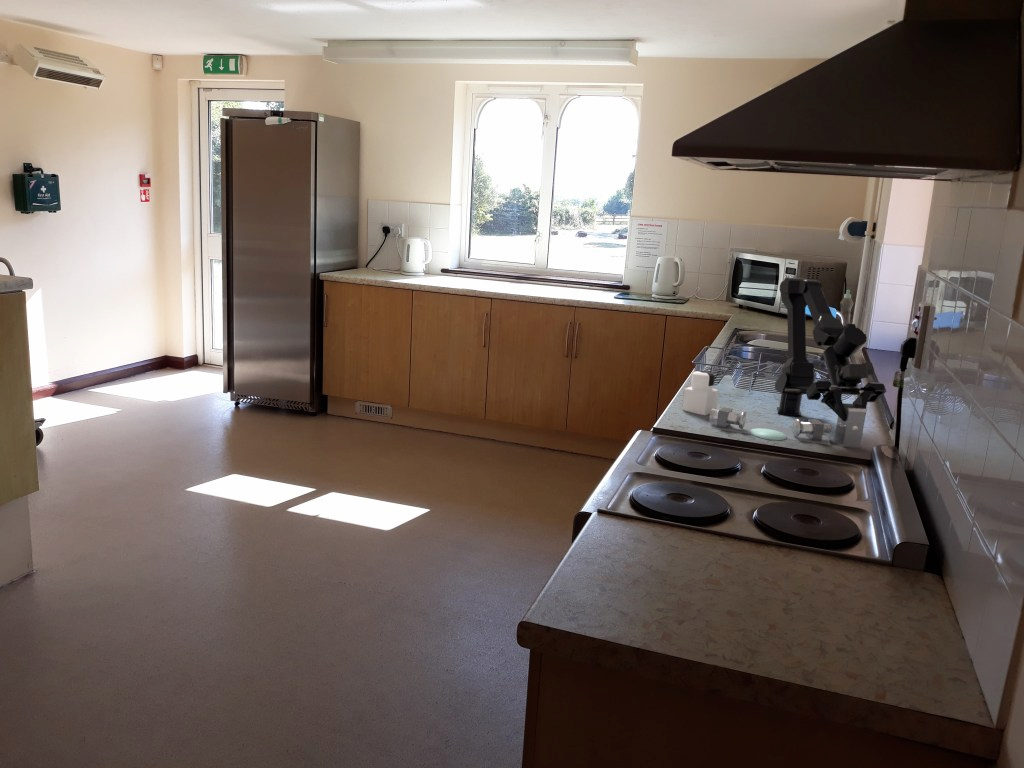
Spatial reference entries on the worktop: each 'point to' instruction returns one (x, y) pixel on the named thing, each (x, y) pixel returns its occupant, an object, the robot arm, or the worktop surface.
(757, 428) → the coupling board
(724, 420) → the shaft
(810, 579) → the worktop surface
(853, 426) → the block
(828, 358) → the robot arm
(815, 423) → the shaft
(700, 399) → the medicine bottle
